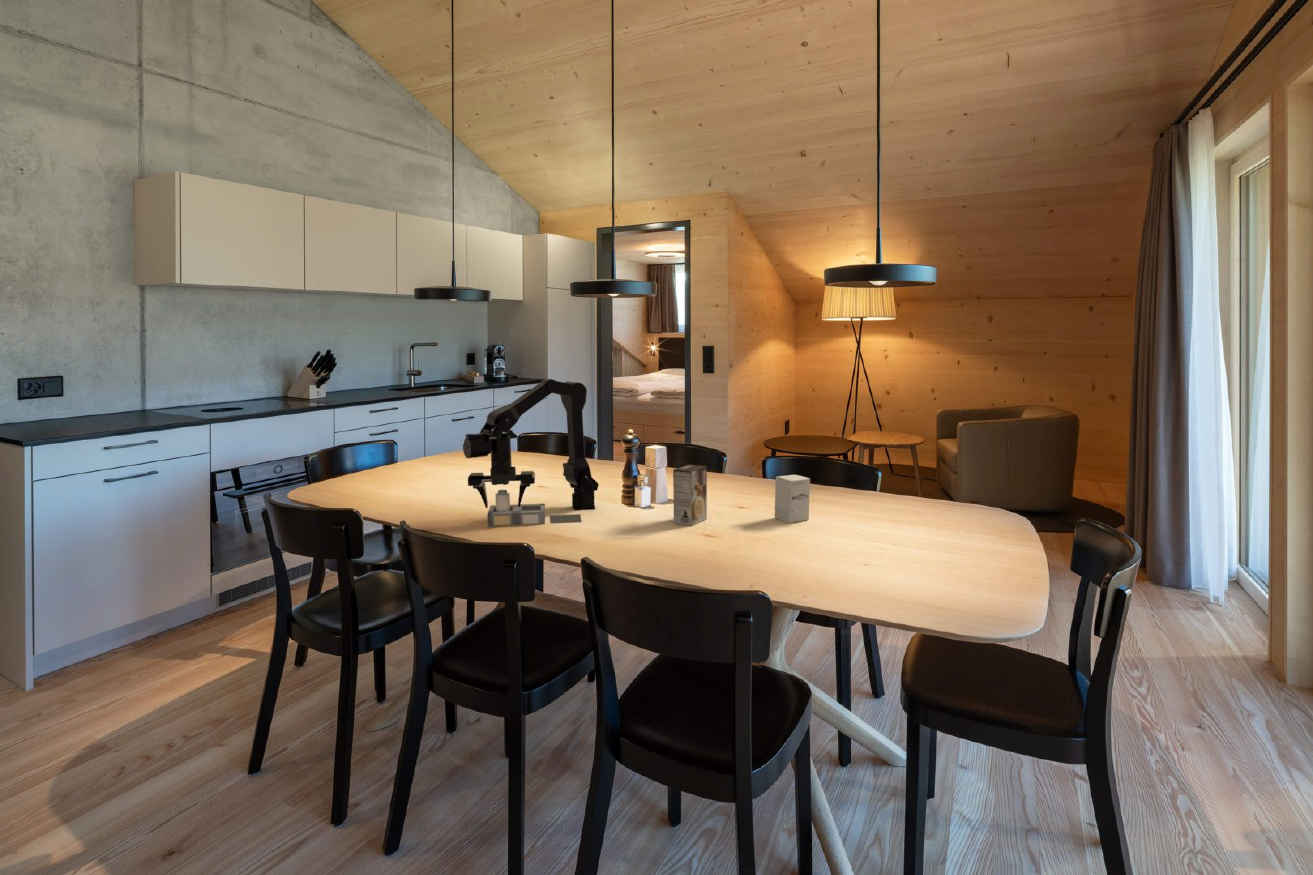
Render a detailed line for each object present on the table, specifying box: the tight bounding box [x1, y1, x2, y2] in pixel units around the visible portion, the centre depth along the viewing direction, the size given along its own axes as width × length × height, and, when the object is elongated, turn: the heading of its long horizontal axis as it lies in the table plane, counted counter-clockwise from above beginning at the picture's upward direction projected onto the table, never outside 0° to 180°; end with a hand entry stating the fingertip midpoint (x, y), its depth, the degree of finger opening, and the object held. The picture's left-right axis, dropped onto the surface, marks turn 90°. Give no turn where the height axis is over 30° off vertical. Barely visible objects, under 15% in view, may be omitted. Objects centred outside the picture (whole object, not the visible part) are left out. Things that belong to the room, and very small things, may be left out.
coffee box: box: [672, 464, 708, 527], centre depth 214 cm, size 9×6×16 cm
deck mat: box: [549, 513, 582, 524], centre depth 217 cm, size 9×9×1 cm
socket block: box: [486, 503, 546, 529], centre depth 215 cm, size 16×10×4 cm, turn 98°
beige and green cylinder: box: [495, 489, 511, 512], centre depth 214 cm, size 4×4×9 cm
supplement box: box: [774, 474, 811, 524], centre depth 216 cm, size 7×7×13 cm
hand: (503, 507), depth 214 cm, fingers open, 9 cm apart
